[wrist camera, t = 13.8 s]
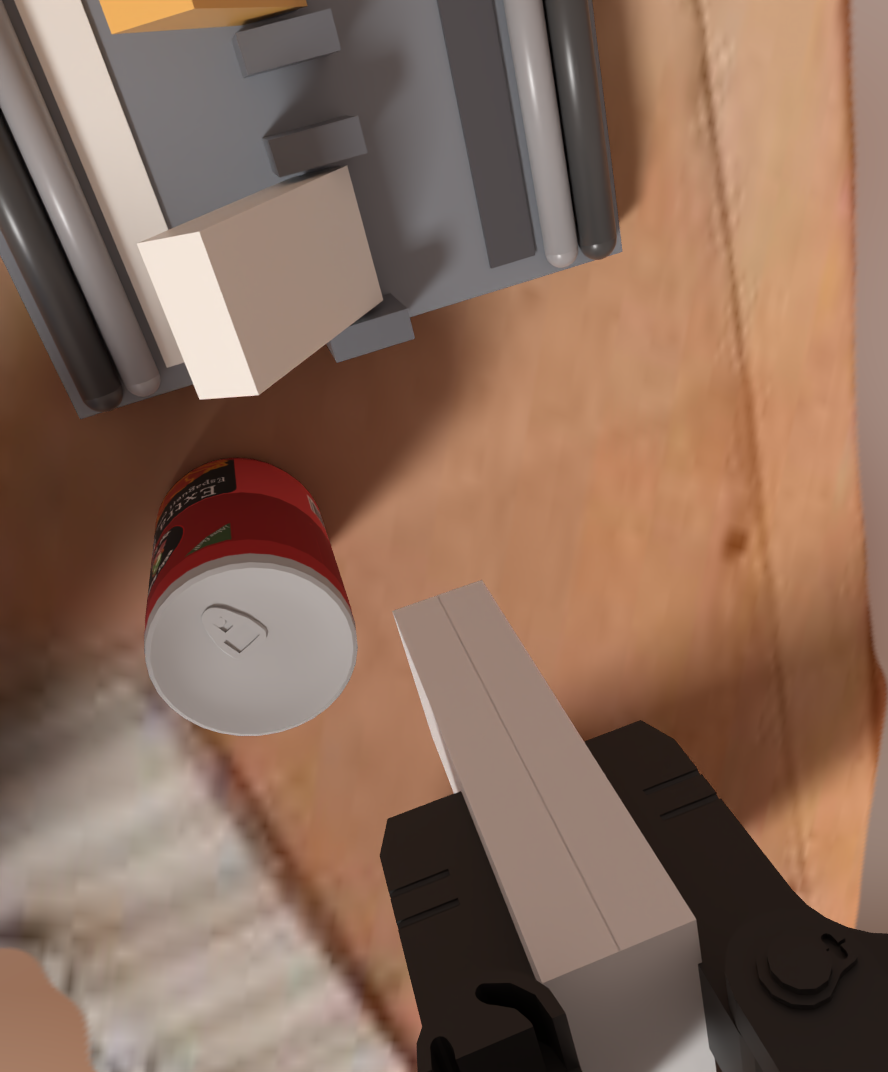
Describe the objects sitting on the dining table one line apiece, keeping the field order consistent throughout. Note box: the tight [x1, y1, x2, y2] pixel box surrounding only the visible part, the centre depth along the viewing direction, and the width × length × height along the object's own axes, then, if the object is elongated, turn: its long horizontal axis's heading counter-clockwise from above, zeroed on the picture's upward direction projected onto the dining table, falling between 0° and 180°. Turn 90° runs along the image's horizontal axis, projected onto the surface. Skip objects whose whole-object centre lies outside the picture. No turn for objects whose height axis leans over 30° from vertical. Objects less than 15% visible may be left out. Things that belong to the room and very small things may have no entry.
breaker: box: [137, 165, 383, 400], centre depth 29 cm, size 5×2×10 cm
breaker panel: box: [0, 0, 622, 419], centre depth 30 cm, size 18×24×6 cm
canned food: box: [144, 458, 358, 736], centre depth 36 cm, size 8×8×11 cm
